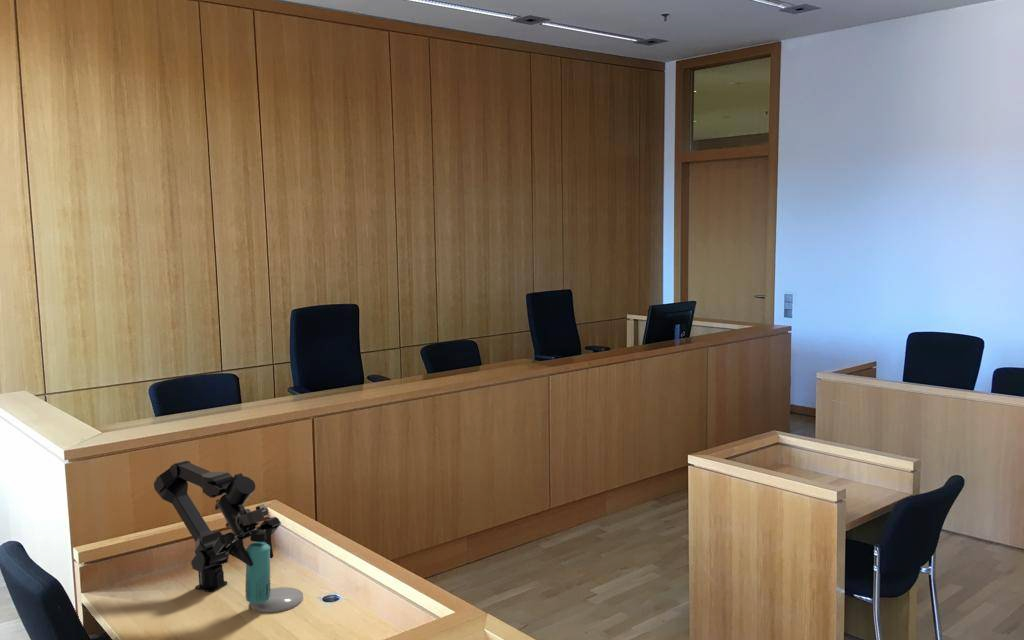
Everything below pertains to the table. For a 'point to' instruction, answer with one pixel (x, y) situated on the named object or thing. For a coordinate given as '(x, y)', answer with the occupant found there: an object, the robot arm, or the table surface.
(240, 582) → the table surface
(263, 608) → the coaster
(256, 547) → the beverage bottle
